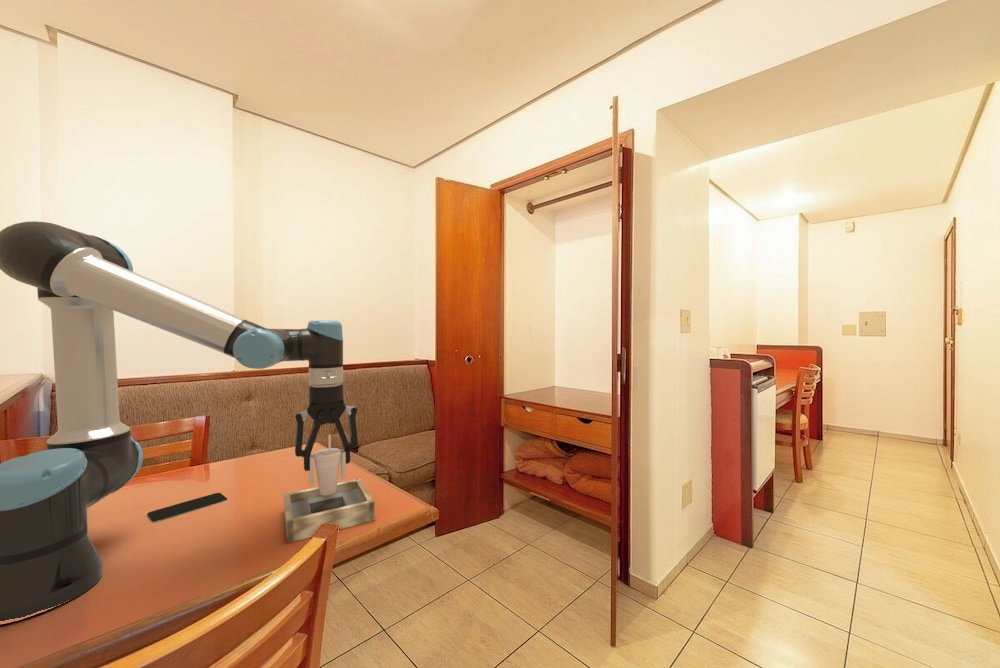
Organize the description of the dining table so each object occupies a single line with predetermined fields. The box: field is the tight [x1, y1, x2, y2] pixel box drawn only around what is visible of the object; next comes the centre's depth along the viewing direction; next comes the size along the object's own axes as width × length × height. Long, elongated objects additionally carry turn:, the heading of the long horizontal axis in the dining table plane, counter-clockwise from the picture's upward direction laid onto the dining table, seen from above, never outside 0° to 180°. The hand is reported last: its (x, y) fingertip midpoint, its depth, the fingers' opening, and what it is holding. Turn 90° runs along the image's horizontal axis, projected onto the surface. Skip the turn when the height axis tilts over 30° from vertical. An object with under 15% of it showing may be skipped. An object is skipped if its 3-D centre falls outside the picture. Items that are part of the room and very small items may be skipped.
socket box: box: [283, 478, 375, 544], centre depth 92 cm, size 18×16×4 cm
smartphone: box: [146, 492, 228, 523], centre depth 97 cm, size 7×1×15 cm
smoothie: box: [312, 433, 342, 495], centre depth 91 cm, size 6×6×14 cm
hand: (327, 479), depth 92 cm, fingers closed on smoothie, 6 cm apart
